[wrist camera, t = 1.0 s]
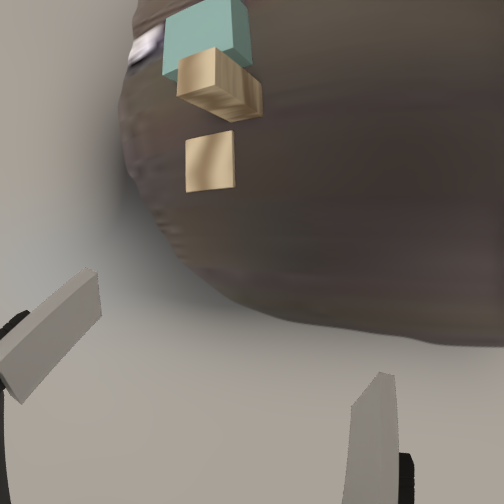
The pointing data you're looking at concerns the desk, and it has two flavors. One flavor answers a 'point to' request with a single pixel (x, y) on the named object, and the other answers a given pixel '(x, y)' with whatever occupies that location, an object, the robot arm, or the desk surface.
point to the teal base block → (207, 33)
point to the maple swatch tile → (210, 162)
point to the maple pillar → (219, 86)
